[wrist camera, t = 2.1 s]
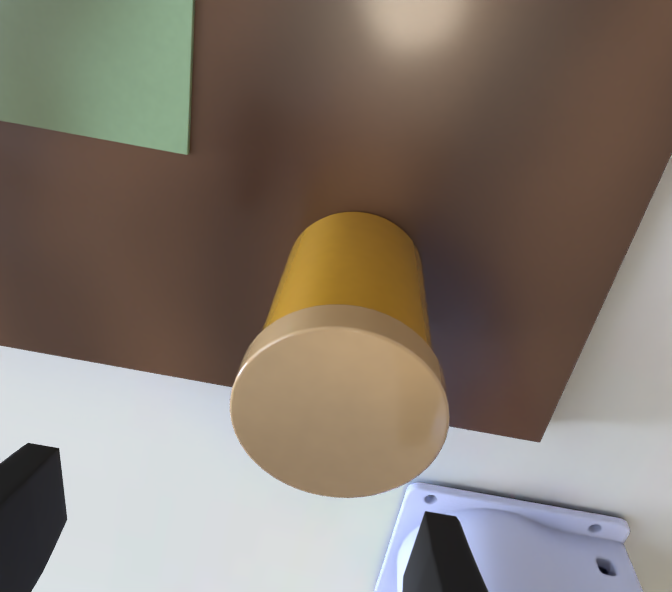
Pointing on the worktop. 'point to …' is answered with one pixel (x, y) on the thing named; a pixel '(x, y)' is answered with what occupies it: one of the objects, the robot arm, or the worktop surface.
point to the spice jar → (344, 365)
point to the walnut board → (327, 173)
